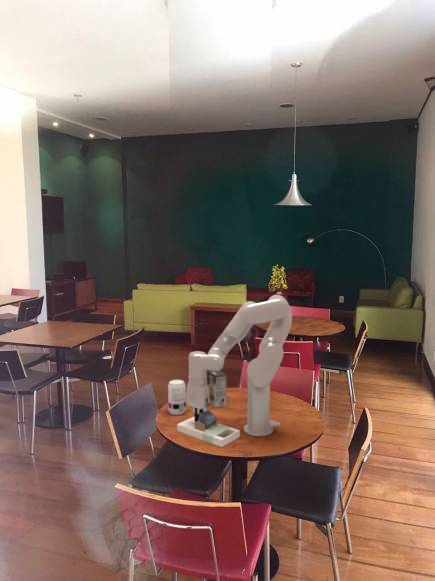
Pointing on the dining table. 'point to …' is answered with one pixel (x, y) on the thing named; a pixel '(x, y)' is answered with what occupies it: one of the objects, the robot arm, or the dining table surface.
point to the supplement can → (176, 397)
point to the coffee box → (217, 388)
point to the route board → (209, 432)
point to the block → (207, 418)
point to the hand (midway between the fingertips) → (198, 421)
